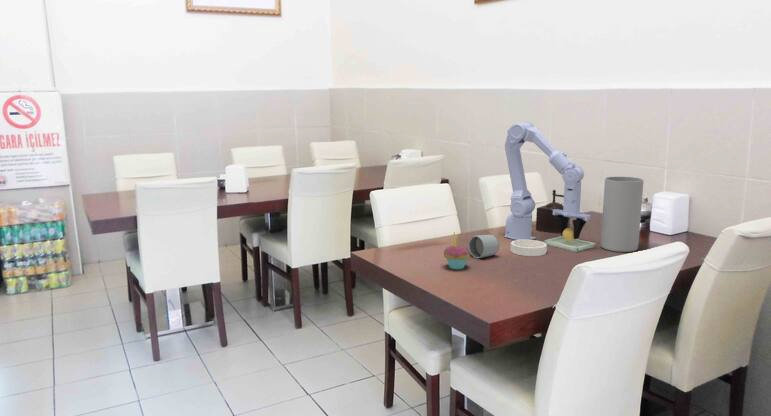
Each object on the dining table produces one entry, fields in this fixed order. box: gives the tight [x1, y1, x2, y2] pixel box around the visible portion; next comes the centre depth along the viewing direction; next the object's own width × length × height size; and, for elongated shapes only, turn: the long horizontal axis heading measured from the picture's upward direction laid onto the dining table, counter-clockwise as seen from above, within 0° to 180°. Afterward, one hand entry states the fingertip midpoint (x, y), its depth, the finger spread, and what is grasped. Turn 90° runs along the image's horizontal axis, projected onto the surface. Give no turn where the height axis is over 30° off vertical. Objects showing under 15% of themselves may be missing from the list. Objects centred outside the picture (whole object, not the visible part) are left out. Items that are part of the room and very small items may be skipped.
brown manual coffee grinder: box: [535, 189, 571, 235], centre depth 236 cm, size 16×11×18 cm
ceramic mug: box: [467, 234, 500, 259], centre depth 198 cm, size 11×8×8 cm
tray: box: [543, 235, 596, 253], centre depth 211 cm, size 14×11×2 cm
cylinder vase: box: [600, 176, 644, 253], centre depth 205 cm, size 12×12×25 cm
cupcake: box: [443, 231, 471, 270], centre depth 184 cm, size 9×8×12 cm
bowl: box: [509, 239, 548, 257], centre depth 203 cm, size 12×12×3 cm
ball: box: [562, 227, 575, 242], centre depth 210 cm, size 5×5×5 cm
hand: (569, 237), depth 210 cm, fingers closed on ball, 5 cm apart
